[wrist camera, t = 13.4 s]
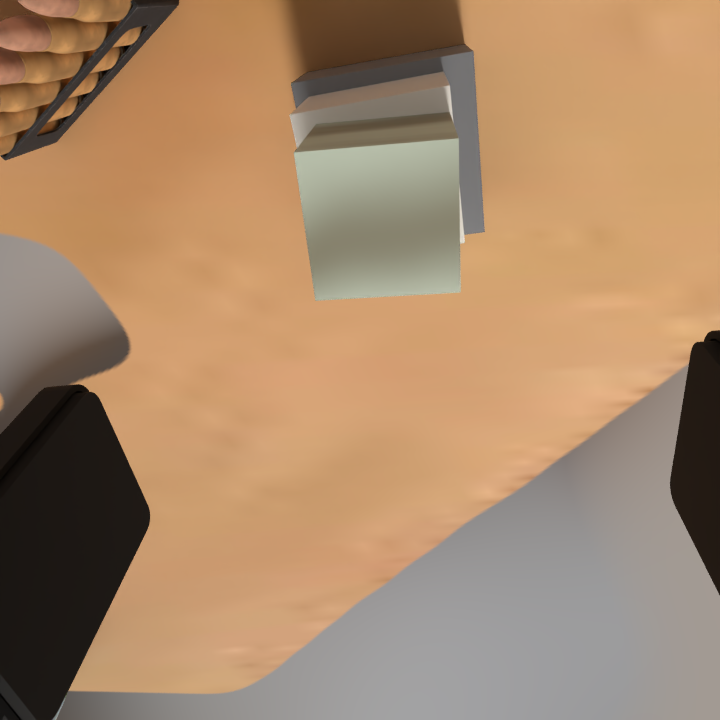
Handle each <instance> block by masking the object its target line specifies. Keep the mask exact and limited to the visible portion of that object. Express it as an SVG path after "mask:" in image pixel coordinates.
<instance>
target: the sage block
mask: <svg viewBox="0 0 720 720" xmlns="http://www.w3.org/2000/svg"><path fill="white" fill-rule="evenodd" d="M294 157H295V164H296V171H297V178H298V184H299V191H300V198H301V205H302V212H303V218H304V225H305V232H306V239H307V246H308V253H309V259H310V266H311V273H312V280H313V287H314V294H315V300H316V301H318V300H335V299H353V298H370V297H388V296H405V295H423V294H441V293H458V292H461V281H460V200H459V138H458V135H457V132H456V129H455V126H454V123H453V120H452V117H451V115H450V112H444V113H433V114H422V115H411V116H400V117H388V118H377V119H366V120H355V121H344V122H333V123H322V124H316V125H315V126H314V127H313V129H312V130H311V131H310V132H309V134H308V135H307V136H306V138H305V139H304V140H303V141H302V143H301V144H300V145H299V147H298V148H297V149H296V150H295V152H294Z"/></svg>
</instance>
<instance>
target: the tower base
mask: <svg viewBox="0 0 720 720" xmlns="http://www.w3.org/2000/svg"><path fill="white" fill-rule="evenodd" d="M438 72H444V74H445V76H446V78H447V80H448V82H449V84H450V92H451V102H452V113H453V123H454V126H455V129H456V132H457V135H458V138H459V186H460V197H461V208H462V218H463V229H464V235H466V234H473V233H481V232H485V230H484V214H483V198H482V182H481V166H480V150H479V134H478V118H477V102H476V85H475V69H474V53H473V50H471V49H470V48H469V47H468V46H466V45H465V44H463V45H457V46H452V47H446V48H440V49H435V50H429V51H424V52H418V53H412V54H407V55H401V56H395V57H390V58H384V59H379V60H373V61H367V62H362V63H356V64H350V65H345V66H339V67H334V68H328V69H322V70H317V71H311V72H307V73H305V74H304V75H302V76H301V77H299V78H298V79H296V80H295V81H293V82H292V83H291V86H292V91H293V96H294V101H295V106H296V108H297V107H298V106H299V105H301V104H302V103H303V102H304V101H305V100H306V99H307V98H308V97H310V96H315V95H320V94H326V93H331V92H336V91H342V90H347V89H352V88H358V87H363V86H368V85H374V84H379V83H384V82H390V81H395V80H400V79H406V78H411V77H416V76H422V75H427V74H432V73H438Z"/></svg>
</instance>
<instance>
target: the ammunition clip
mask: <svg viewBox="0 0 720 720" xmlns="http://www.w3.org/2000/svg"><path fill="white" fill-rule="evenodd" d="M17 1H18V2H19V3H20V4H21V5H22V6H24V7H25V8H27V9H29V10H31V11H33V12H35V13H31V14H27V15H18V16H13V17H10V18H6V19H4V20H2V21H0V47H2V48H0V156H1V157H2V158H3V159H4V160H8V159H11V158H14V157H17V156H19V155H22V154H25V153H28V152H31V151H33V150H36V149H39V148H42V147H44V146H47V145H50V144H53V143H56V142H57V141H58V140H59V139H60V138H61V136H62V135H63V134H64V133H65V132H66V131H67V130H68V129H69V127H70V126H71V125H72V124H73V123H74V122H75V121H76V120H77V118H78V117H79V116H80V115H81V114H82V113H83V112H84V111H85V109H86V108H87V107H88V106H89V105H90V104H91V103H92V102H93V100H94V99H95V98H96V97H97V96H98V95H99V94H100V93H101V91H102V90H103V89H104V88H105V87H106V86H107V85H108V84H109V83H110V81H111V80H112V79H113V78H114V77H115V76H116V75H117V74H118V72H119V71H120V70H121V69H122V68H123V67H124V66H125V65H126V63H127V62H128V61H129V60H130V59H131V58H132V57H133V56H134V54H135V53H136V52H137V51H138V50H139V49H140V48H141V47H142V45H143V44H144V43H145V42H146V41H147V40H148V39H149V38H150V36H151V35H152V34H153V33H154V32H155V31H156V30H157V29H158V27H159V26H160V25H161V24H162V23H163V22H164V21H165V20H166V18H167V17H168V16H169V15H170V14H171V13H172V12H173V11H174V9H175V8H176V7H177V6H178V5H179V0H17Z"/></svg>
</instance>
